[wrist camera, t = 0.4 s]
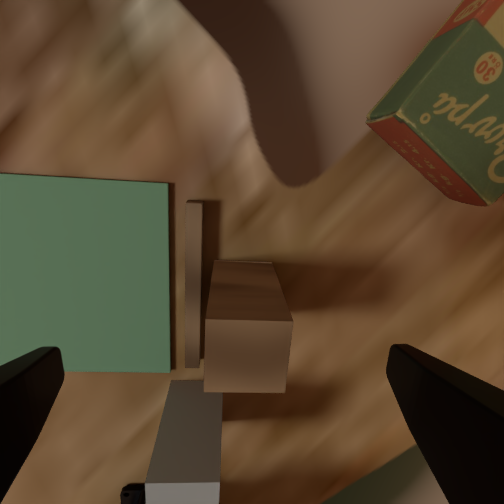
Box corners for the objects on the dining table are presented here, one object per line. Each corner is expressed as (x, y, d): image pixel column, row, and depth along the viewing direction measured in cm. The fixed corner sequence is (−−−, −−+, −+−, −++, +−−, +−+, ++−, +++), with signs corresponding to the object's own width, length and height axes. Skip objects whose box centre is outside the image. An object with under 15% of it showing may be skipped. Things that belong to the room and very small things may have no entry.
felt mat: (170, 370, 24) (170, 372, 24) (4, 367, 23) (1, 370, 23) (168, 183, 20) (167, 183, 20) (-36, 171, 19) (-40, 171, 19)
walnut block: (267, 313, 24) (284, 393, 16) (212, 312, 23) (203, 392, 16) (272, 262, 22) (293, 321, 15) (214, 259, 22) (205, 319, 14)
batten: (200, 359, 24) (198, 367, 23) (186, 359, 24) (185, 367, 23) (203, 201, 21) (202, 203, 20) (187, 200, 21) (185, 202, 20)
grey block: (221, 421, 26) (217, 532, 19) (171, 421, 26) (147, 534, 18) (223, 381, 25) (219, 482, 17) (171, 380, 25) (145, 483, 17)
